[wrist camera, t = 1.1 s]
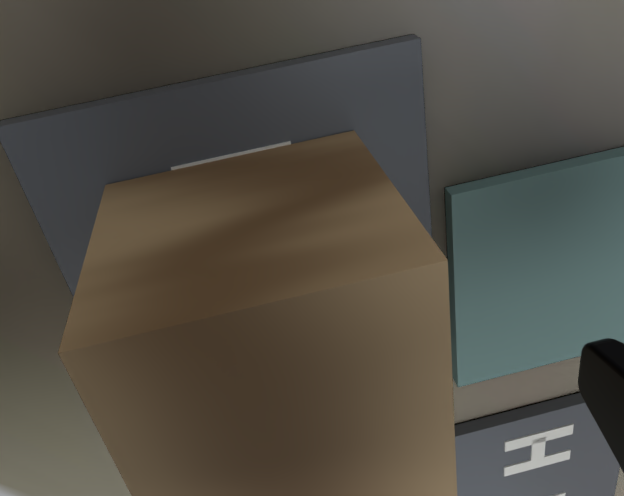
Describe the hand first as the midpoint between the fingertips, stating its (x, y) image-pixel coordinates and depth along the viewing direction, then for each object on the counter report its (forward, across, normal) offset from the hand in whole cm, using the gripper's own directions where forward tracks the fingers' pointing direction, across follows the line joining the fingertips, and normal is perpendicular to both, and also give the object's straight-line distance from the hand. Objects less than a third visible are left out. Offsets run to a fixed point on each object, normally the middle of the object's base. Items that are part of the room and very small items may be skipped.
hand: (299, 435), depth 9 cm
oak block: (+5, 0, 0) cm, 5 cm away
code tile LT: (+5, 0, 0) cm, 5 cm away
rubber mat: (+5, -7, +2) cm, 9 cm away
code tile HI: (+5, -7, +10) cm, 14 cm away
